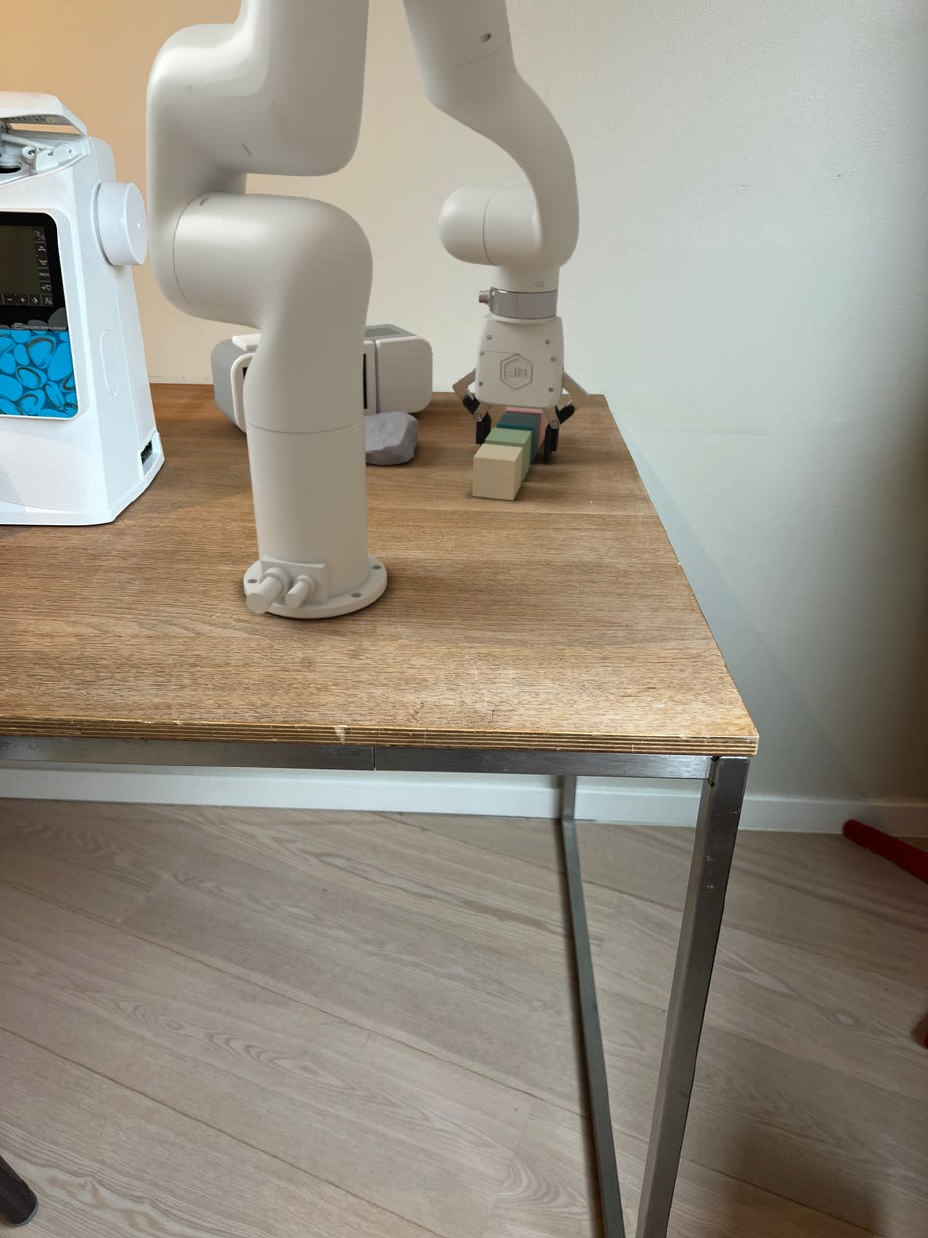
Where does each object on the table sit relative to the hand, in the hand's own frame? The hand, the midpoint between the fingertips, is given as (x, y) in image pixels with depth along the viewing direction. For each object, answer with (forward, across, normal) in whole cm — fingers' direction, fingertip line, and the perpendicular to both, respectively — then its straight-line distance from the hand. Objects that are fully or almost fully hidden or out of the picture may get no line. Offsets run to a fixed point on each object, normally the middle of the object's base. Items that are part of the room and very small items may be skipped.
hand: (516, 452), depth 111 cm
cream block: (+1, 0, -12) cm, 12 cm away
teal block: (+1, 0, 0) cm, 1 cm away
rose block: (+1, 0, +6) cm, 6 cm away
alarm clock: (+1, -27, +6) cm, 28 cm away
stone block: (+1, -18, -4) cm, 18 cm away
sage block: (+1, 0, -6) cm, 6 cm away
